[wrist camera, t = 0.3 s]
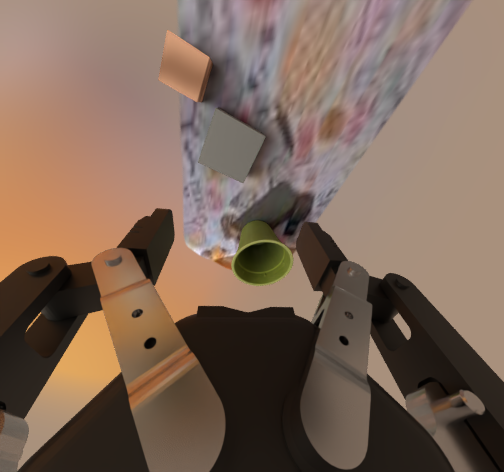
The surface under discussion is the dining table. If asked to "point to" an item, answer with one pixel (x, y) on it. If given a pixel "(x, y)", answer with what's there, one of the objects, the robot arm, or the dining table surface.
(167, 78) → the terracotta cube
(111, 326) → the robot arm
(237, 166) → the grey base block
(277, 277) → the plant pot
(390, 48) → the dining table surface
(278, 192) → the dining table surface
